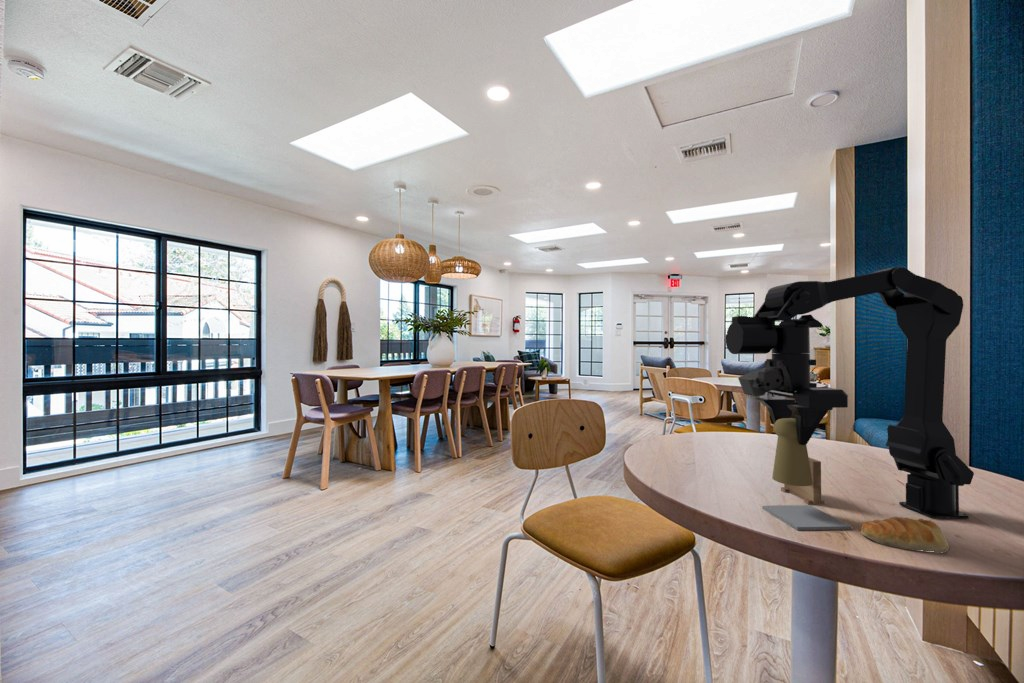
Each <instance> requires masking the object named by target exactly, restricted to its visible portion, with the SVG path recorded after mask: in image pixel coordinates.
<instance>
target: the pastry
mask: <svg viewBox="0 0 1024 683" xmlns="http://www.w3.org/2000/svg"><path fill="white" fill-rule="evenodd" d="M860 534H862V535H863V536H864V537H866V538H867V539H870V540H872V541H874V542H875V543H877V544H880V545H884V546H891V547H895V548H898V549H899V548H900V549H903V550H906V549H909V550H908V551H915V550H923V551H934V552H945V553H946V552H947V551H949V544H948V541H947V538H946V536H945V535H944V534H943V532H942V529H941V527H940V526H939V525H938V524H936V522H934V521H932V520H930V519H929V520H928V519H923V518H919V519H913V518H909V517H899V516H894V517H892V516H891V517H890V518H889V517H888V518H885V519H874V520H872V521H867V522H863V524H862V526H861V530H860ZM910 549H911V550H910ZM912 549H913V550H912ZM923 551H922V552H923Z"/></svg>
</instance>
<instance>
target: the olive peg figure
mask: <svg viewBox="0 0 1024 683" xmlns="http://www.w3.org/2000/svg"><path fill="white" fill-rule="evenodd" d="M773 428H774V433H775V434H776V436H777V440H776V441H777V442H776V448H775V456H774V463H773V469H772V480H773V481H775V482H778V483H779V484H783V485H784V484H787V485H793V486H811V485H812V484H813V481H812V475H811V469H810V463H809V458H810V457H809V454H808V453H809V452H808V446H807V444H806V445H800V444H799V441H798V436H797V428H796V419H795V418H792V417H791V418H782V419H778V420H777V421H776V422H775V424H773ZM808 457H809V458H808Z"/></svg>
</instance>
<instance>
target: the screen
mask: <svg viewBox="0 0 1024 683" xmlns="http://www.w3.org/2000/svg"><path fill="white" fill-rule="evenodd" d="M808 458H809V463H810V469H811V475H812V481H813V484H812V485H811V486H793V485H787V484H783V485H784V486H782V487H780V491H782V492H784V493H790V494H792V495H794V496H796V497H797V498H800V499H802V500H803V502H804V503H805V504H806V505H812V506H813V505H815V506H816V505H817V506H818V505H825V504H826V501H825V500H824V499H822V461H820V460H818V459H814V458H812V457H809V456H808Z"/></svg>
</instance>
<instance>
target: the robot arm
mask: <svg viewBox="0 0 1024 683" xmlns="http://www.w3.org/2000/svg"><path fill="white" fill-rule="evenodd" d="M872 294H878V296H879V297H880V299H881V300H882V303H883V304H884V305H885V306H886V307H887V308H889V309H890V310H892V311H894V312H895V313H896V314H895V315H896V322H897V326H898V327H899V329H900V331H901V333H903V335H904V337H905V338H906V340H907V341H906V342H907V343H906V346H907V347H906V360H905V361H906V365H905V383H904V384H905V386H904V408H903V417H901V419H900V420H899V422H898V423H897V424H896V425H893V424H888V426H887V429H886V431H887V440H886V443H885V447H888V450H889V451H888V452H889V455H890V456H891V457H892V458H893V461H894V463H895V466H896V468H897V470H898V471H900V472H906V477H907V478H906V481H907V482H905V501H899V503H898V504H899V505H900V506H902V507H904V508H907V509H909V510H911V511H914V512H917V513H920V514H921V515H924V516H928V517H930V518H933V519H969V518H970V515H969V514H968V513H965V512H962V511H960V503H959V502H960V500H959V499H960V495H959V494H960V493H959V490H960V489H959V487H963V486H965V485H971V483H972V481H973V478H974V475H975V473H974V471H973V470H972V469H971V468H970V467H969V466H967V465H966V463H964V461H963V460H962V459H960V457H958V456H957V453H956V452H957V451H956V445H955V444H956V443H955V438H954V437H953V435H952V434H951V432H950V431H949V429H948V428H947V426H946V425H945V423H944V420H943V415H944V414H943V413H944V394H945V376H946V375H945V373H946V353H947V352H946V350H947V340H948V338H949V337H950V336H951V335H952V334H953V332H954V331H955V330H956V329H957V328H958V326H959V325H960V322H961V318H962V314H963V310H964V299H963V297H962V295H959V294H958V293H957V292H956V291H955V290H953V289H952V288H949V287H947V286H945V285H944V284H942V283H941V282H938V281H936V280H933V279H930V278H927V277H923V276H920V275H917V274H915V273H914V272H912V271H910V270H909V268H905V267H901V266H895V267H889V268H884V269H879V270H875V271H873V272H872V273H867V274H861V275H856V276H852V277H845V278H841V279H836V280H831V281H821V280H820V281H817V280H810V281H809V280H808V281H807V280H805V281H801V280H800V281H794V282H789V283H785V284H781V285H776V286H773V287H771V288H769V289H768V291H767V292H766V294H765V298H764V301H763V303H762V304H761V306H760V307H759V308H758V310H757V311H756V312H755V314H754V316H746V315H736V316H732V317H731V324H730V325H729V326H728V328H727V332H726V334H725V339H724V340H725V345H726V349H727V350H728V351H729V353H730V354H733V355H766V354H769V353H770V352H771V358H766V360H765V361H764V367H762V368H760V369H756V370H753V371H751V372H748V373H746V374H743V375H739V377H737V379H738V381H739V385H740V386H741V390H742V391H743V394H744V395H746V396H752V397H755V400H756V402H759V403H761V404H762V405H763V406H765V407H766V409H767V411H768V414H769V415H770V418H771V421H772V424H773V425H774V424H775V422H776V421H777V420H778V419H782V418H792V415H794V417H795V418H794V419H796V428H797V436H798V441H799V444H800V445H806V446H807V445H808V443H809V441H810V440H811V438H812V436H813V435H814V433H815V431H816V429H817V428H818V426H819V425H820V423H821V421H822V420H823V419H824V417H825V416H826V414H827V413H828V412H829V411H833V409H834V408H835V409H836V408H842V409H843V408H849V395H848V394H847V393H846V391H844V390H843V389H840V388H832V387H818V386H817V383H816V382H811V366H817V359H815V358H814V359H811V354H810V353H811V344H810V343H811V342H810V341H811V340H810V335H811V334H810V329H814V328H818V329H819V328H822V327H823V323H822V322H820V321H819V320H818V319H816V318H815V317H813V315H812V314H808V313H811V312H814V311H816V310H818V309H821V308H823V307H825V306H826V305H828V304H830V303H833V302H836V301H841V300H846V299H847V300H848V299H852V298H856V297H857V298H858V297H862V296H867V295H872ZM798 315H801V316H800V317H799V318H795V317H796V316H798ZM777 321H778V322H779V324H776V322H777Z"/></svg>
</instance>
